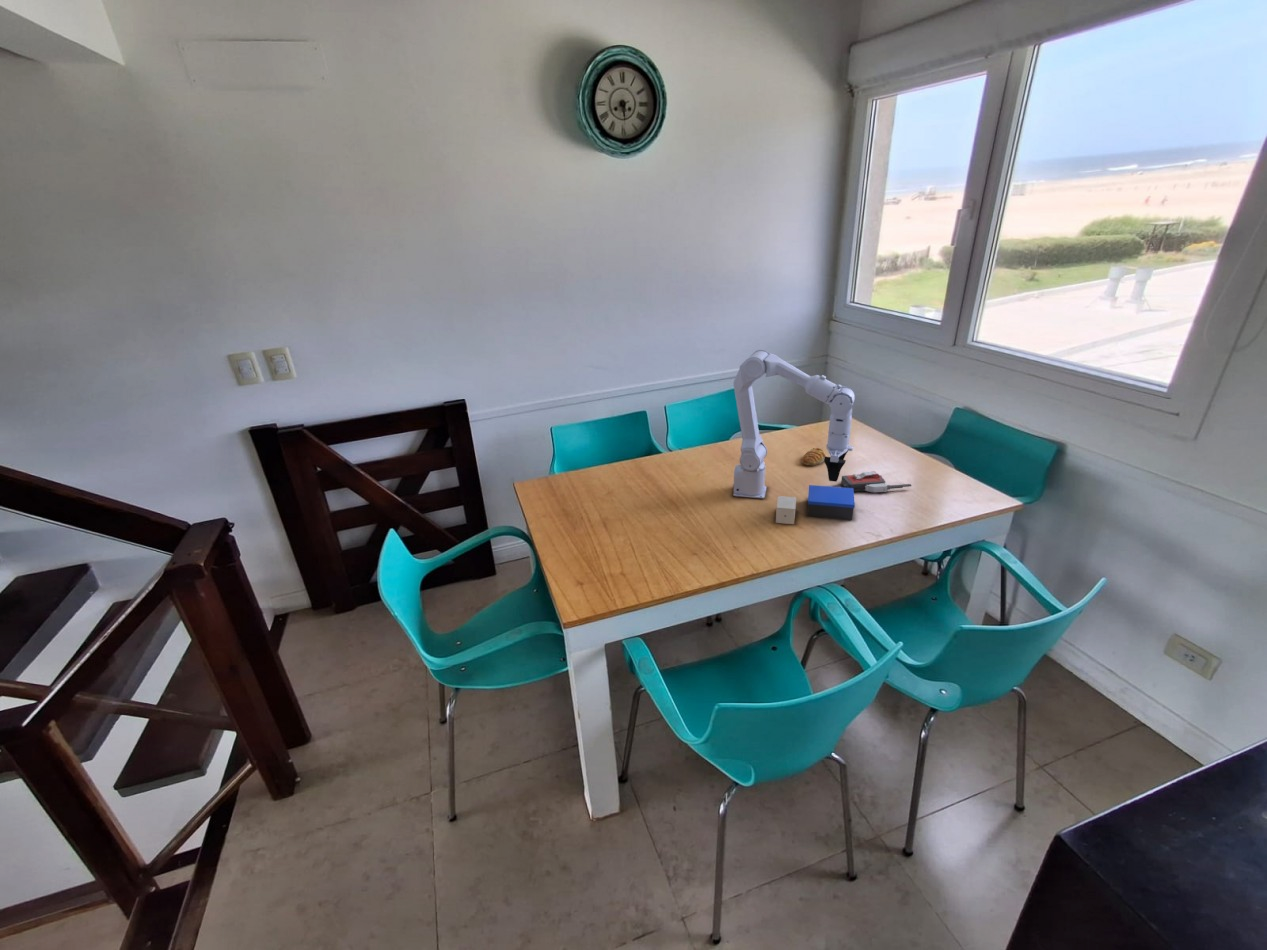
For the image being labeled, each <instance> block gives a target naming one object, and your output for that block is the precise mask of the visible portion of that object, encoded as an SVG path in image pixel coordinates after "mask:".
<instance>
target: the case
mask: <svg viewBox="0 0 1267 950" xmlns="http://www.w3.org/2000/svg"><path fill="white" fill-rule="evenodd" d="M776 502H777V503H776V510H775V511H776V512H775V514H776V515H775V523H776V524H783V525H784V524H787V525H795V519H796V507H797V497H795V496H783V495H778V496H777V501H776Z"/></svg>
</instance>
